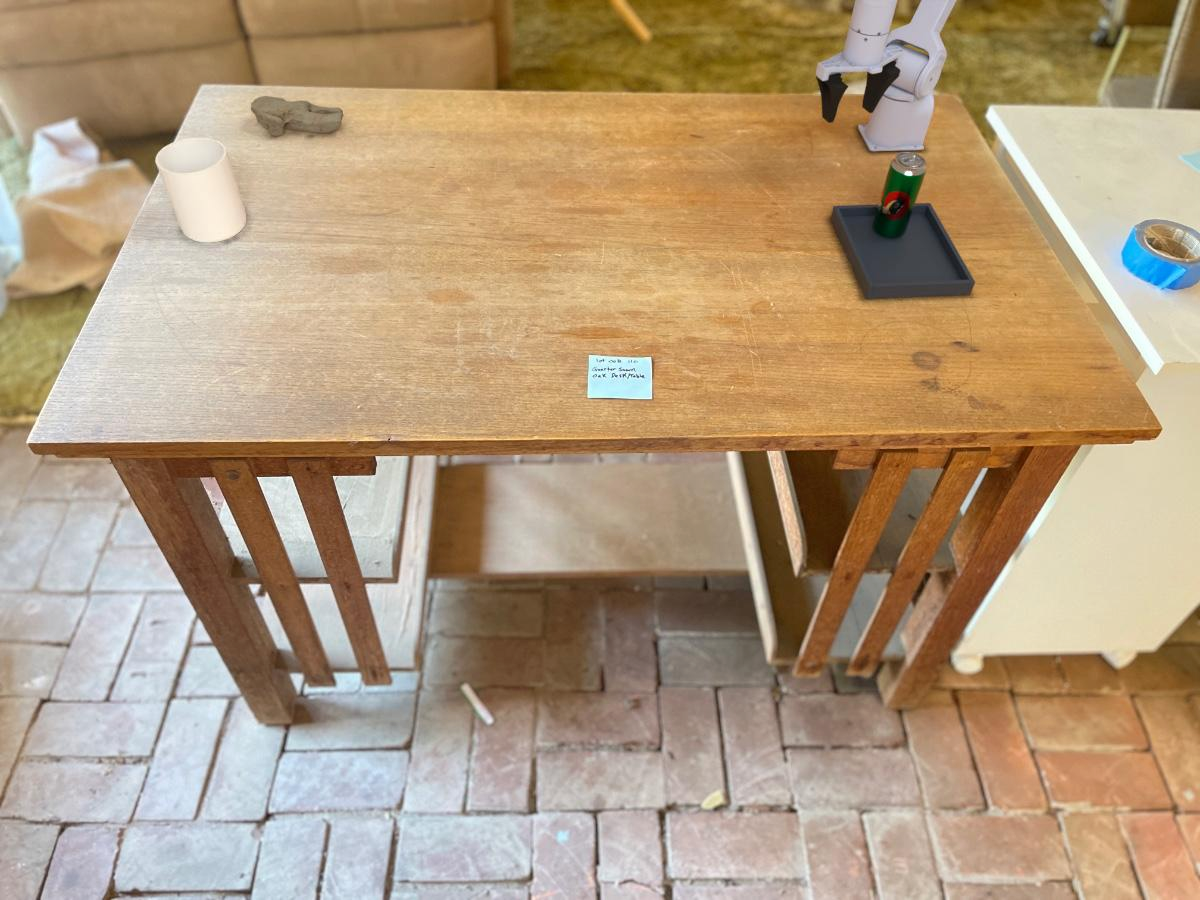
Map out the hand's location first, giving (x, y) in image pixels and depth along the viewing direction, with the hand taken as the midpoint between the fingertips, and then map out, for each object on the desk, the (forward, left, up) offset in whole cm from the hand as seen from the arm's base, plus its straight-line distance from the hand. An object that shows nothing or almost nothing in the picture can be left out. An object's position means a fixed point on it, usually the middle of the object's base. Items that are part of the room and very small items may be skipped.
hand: (847, 114), depth 143 cm
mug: (+97, +8, -11) cm, 98 cm away
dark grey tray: (-4, +22, -10) cm, 25 cm away
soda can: (-4, +17, -10) cm, 20 cm away
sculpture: (+87, -18, -11) cm, 90 cm away
